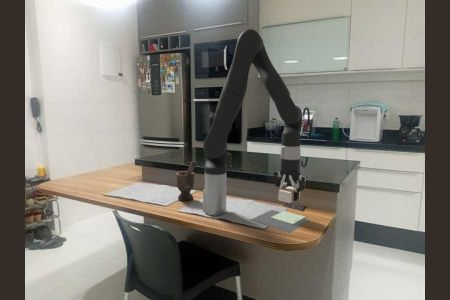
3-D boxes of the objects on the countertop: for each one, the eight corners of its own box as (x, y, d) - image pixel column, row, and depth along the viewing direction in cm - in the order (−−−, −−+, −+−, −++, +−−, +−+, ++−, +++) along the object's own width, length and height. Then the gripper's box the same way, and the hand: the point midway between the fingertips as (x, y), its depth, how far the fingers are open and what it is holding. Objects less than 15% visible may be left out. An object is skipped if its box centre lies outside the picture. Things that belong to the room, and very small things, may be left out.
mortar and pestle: (203, 198, 146) (203, 158, 143) (194, 204, 138) (194, 161, 135) (182, 195, 150) (182, 156, 148) (173, 200, 143) (172, 159, 140)
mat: (249, 221, 118) (249, 219, 118) (273, 210, 131) (274, 208, 131) (289, 234, 106) (289, 232, 106) (312, 220, 119) (312, 218, 119)
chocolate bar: (305, 204, 136) (298, 218, 120) (305, 206, 136) (298, 220, 120) (285, 202, 140) (276, 214, 124) (285, 204, 140) (276, 217, 124)
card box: (288, 195, 124) (289, 186, 123) (300, 198, 120) (300, 188, 120) (278, 200, 118) (278, 190, 117) (289, 203, 115) (290, 192, 114)
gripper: (312, 158, 115) (310, 200, 117) (279, 154, 124) (278, 193, 127) (302, 160, 109) (301, 205, 112) (269, 156, 119) (268, 197, 121)
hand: (289, 199), depth 119 cm, fingers closed on card box, 5 cm apart
